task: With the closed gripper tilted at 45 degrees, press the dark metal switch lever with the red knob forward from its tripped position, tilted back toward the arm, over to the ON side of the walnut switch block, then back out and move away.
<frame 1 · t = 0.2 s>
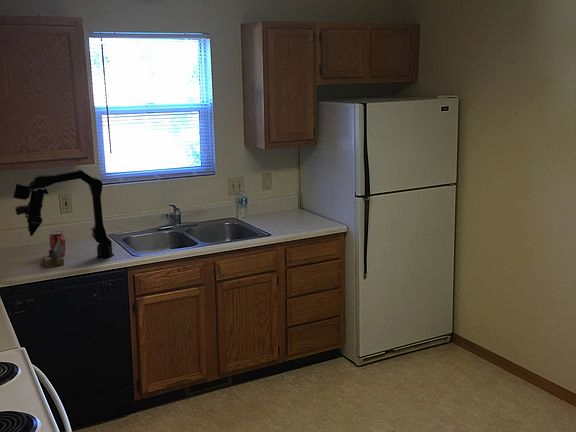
hand: (30, 233, 304), 16 cm above the worktop, tool pointing down, fingers open, 9 cm apart
switch lever: (58, 247, 309), point 8 cm above the worktop, hinge at -30.0°
soda can: (58, 256, 323), on the worktop
switch block: (53, 263, 309), on the worktop
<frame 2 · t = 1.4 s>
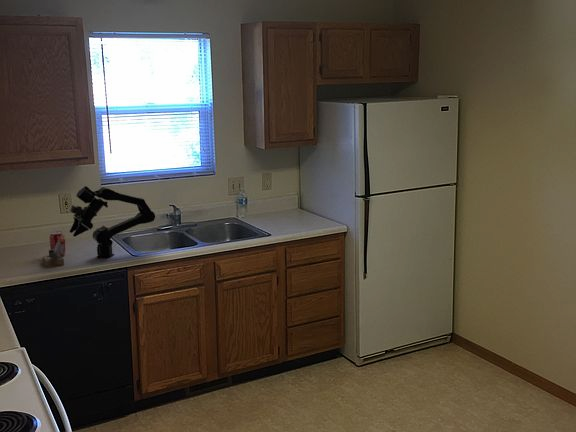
hand: (71, 234, 311), 13 cm above the worktop, tool tilted 45°, fingers open, 9 cm apart
nothing on the worktop moved.
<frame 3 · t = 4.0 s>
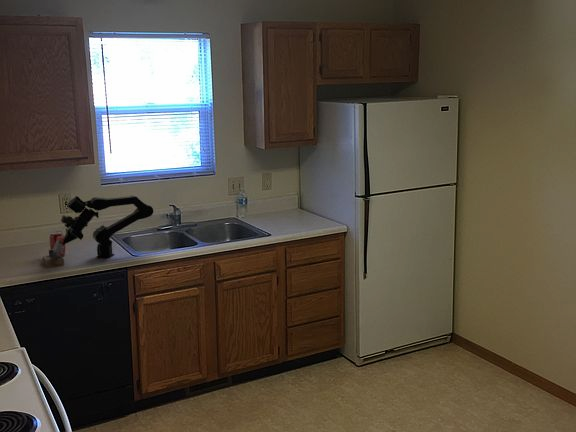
hand: (62, 244, 310), 9 cm above the worktop, tool tilted 45°, fingers closed, pressing on switch lever
switch lever: (57, 246, 309), point 8 cm above the worktop, hinge at -25.2°, touching gripper
everything else where it was.
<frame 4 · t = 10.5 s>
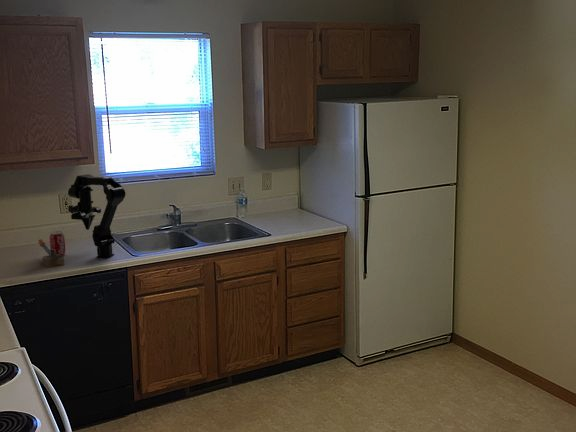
hand: (87, 229, 326), 12 cm above the worktop, tool pointing down, fingers closed
switch lever: (46, 248, 307), point 8 cm above the worktop, hinge at 29.9°
everything else where it was.
at the end: switch lever at +30° (first picture: -30°); soda can moved 0.2 cm from its start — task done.
